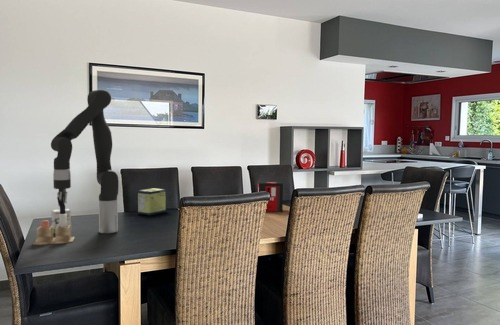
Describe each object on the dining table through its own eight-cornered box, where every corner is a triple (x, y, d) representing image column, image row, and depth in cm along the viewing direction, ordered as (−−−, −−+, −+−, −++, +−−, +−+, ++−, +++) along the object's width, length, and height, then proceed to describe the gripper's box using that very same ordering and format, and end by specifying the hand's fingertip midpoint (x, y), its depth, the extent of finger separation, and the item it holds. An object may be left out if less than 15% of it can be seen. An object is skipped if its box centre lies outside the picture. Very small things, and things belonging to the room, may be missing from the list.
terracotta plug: (49, 237, 191) (49, 220, 191) (48, 238, 188) (47, 221, 188) (42, 237, 190) (41, 220, 190) (40, 239, 187) (40, 221, 187)
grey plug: (67, 230, 194) (67, 213, 193) (66, 232, 190) (65, 215, 190) (60, 231, 193) (59, 214, 192) (59, 232, 190) (58, 215, 189)
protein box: (166, 211, 266) (166, 189, 265) (148, 215, 253) (148, 191, 252) (155, 210, 271) (154, 187, 270) (137, 213, 258) (137, 190, 257)
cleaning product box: (258, 212, 267) (258, 183, 266) (257, 209, 276) (257, 181, 275) (282, 212, 268) (283, 183, 267) (280, 209, 277) (281, 181, 276)
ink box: (54, 233, 205) (53, 211, 204) (51, 231, 209) (51, 210, 208) (71, 231, 211) (70, 209, 210) (68, 229, 214) (68, 208, 214)
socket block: (74, 237, 197) (74, 224, 197) (72, 242, 189) (71, 228, 188) (37, 240, 193) (36, 226, 192) (32, 245, 184) (32, 230, 183)
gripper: (68, 179, 184) (69, 216, 186) (72, 176, 197) (73, 211, 198) (50, 180, 182) (51, 217, 183) (56, 177, 195) (56, 211, 196)
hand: (62, 213), depth 191 cm, fingers closed
